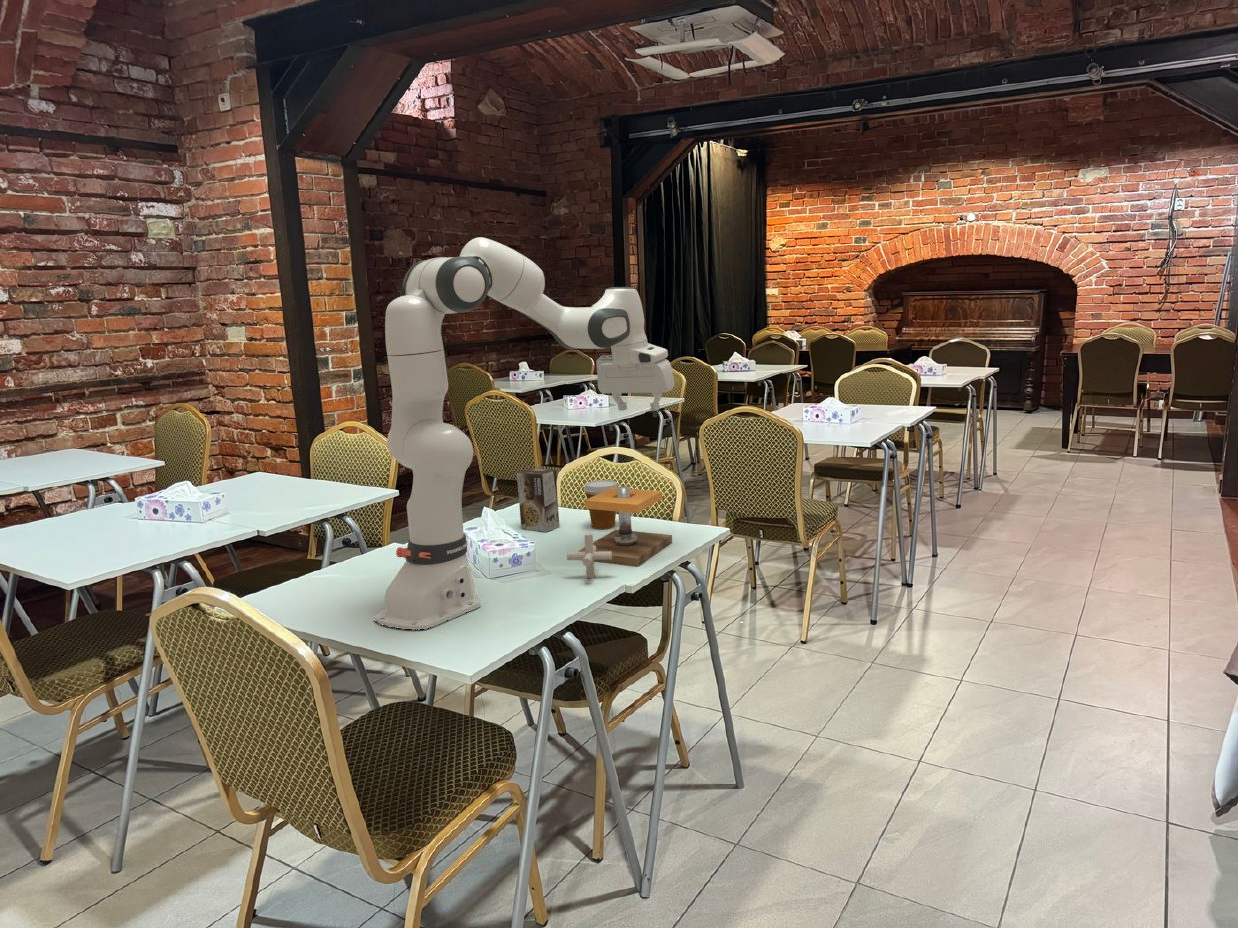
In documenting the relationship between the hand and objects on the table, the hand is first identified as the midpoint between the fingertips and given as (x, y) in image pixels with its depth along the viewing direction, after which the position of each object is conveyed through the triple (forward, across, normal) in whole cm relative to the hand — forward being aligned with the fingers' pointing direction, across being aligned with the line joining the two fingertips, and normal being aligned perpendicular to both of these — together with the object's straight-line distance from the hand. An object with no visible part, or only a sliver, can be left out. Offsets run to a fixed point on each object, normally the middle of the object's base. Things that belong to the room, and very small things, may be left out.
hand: (639, 410), depth 207 cm
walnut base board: (+33, -3, -11) cm, 35 cm away
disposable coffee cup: (+34, -21, +5) cm, 41 cm away
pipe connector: (+31, +1, -30) cm, 43 cm away
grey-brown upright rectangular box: (+33, -36, -4) cm, 49 cm away
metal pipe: (+31, -3, -10) cm, 33 cm away
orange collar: (+21, -2, -9) cm, 23 cm away
